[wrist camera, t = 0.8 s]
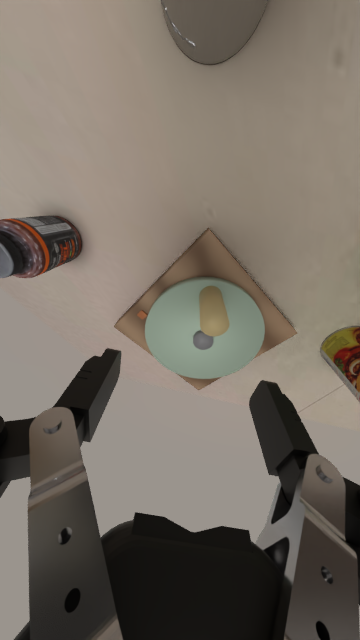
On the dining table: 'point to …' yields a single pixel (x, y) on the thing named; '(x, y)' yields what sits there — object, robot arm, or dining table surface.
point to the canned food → (344, 356)
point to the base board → (206, 262)
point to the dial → (204, 328)
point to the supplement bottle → (36, 245)
